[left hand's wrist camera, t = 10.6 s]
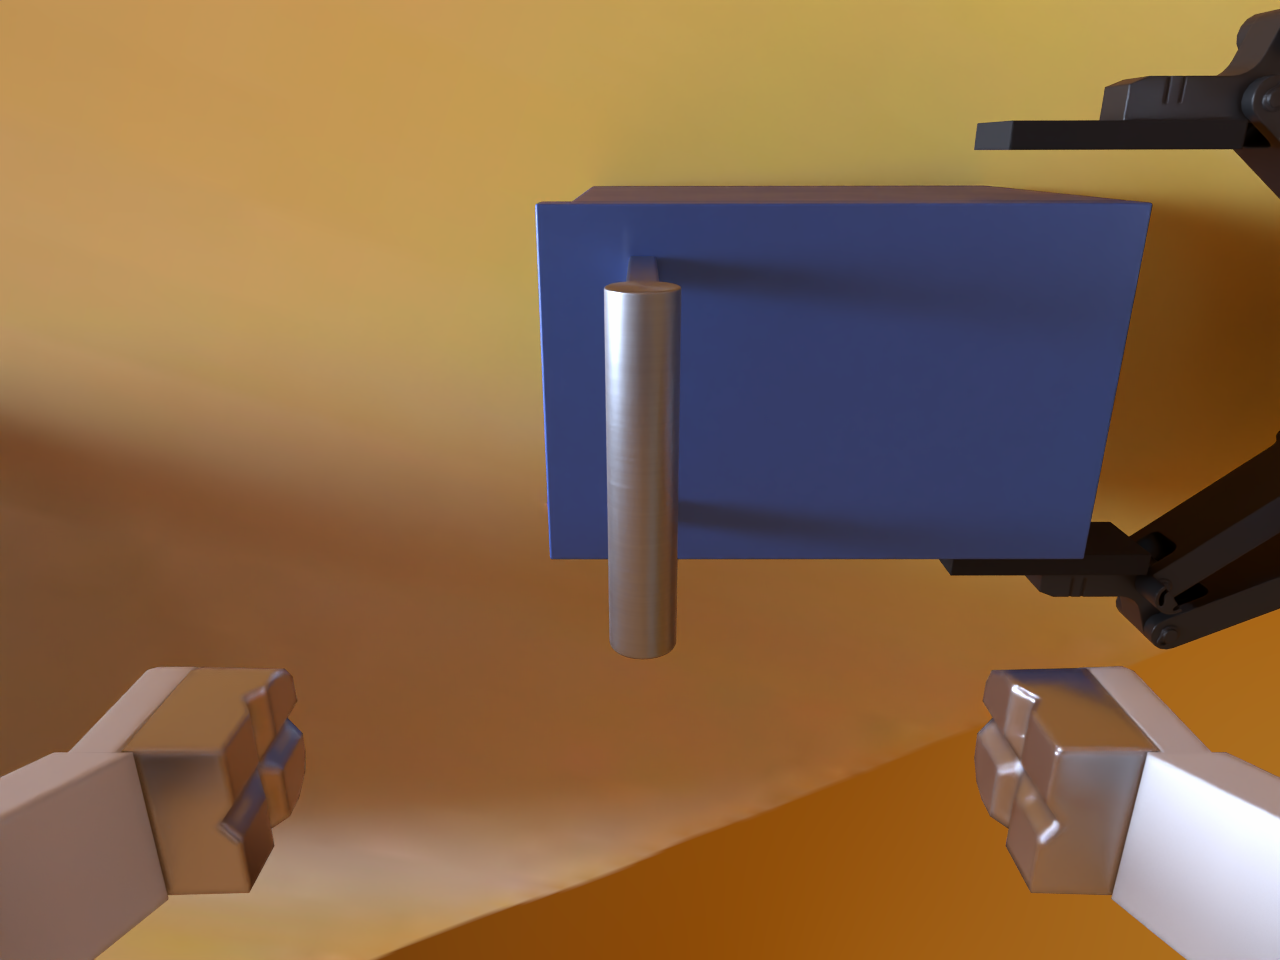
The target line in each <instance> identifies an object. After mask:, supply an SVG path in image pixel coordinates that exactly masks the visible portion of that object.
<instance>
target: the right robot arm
mask: <svg viewBox="0 0 1280 960" xmlns="http://www.w3.org/2000/svg"><path fill="white" fill-rule="evenodd" d="M1237 47H1238V51H1237V53H1236V55H1235V57H1234V58H1233V60H1232V62H1231V63H1230V65H1229V66H1228V67H1227V68H1226V69H1225V70H1224V71H1223V72H1222V73H1220V74H1219V75H1217V76H1146V77H1139V78H1132V79H1126V80H1122V81H1119V82H1117V83H1114V84H1112V85H1110V86H1107V87H1105V91H1104V97H1103V103H1102V109H1101V115H1100V120H1086V121H1003V122H990V123H978V124H977V132H976V140H975V148H974V150H1109V149H1233V150H1234V151H1235V152H1236V153H1237V154H1238V155H1239V156H1240V157H1241V158H1242V159H1243V160H1244V162H1245V163H1246V164H1247V165H1248V166H1249V167H1250V168H1251V169H1252V170H1253V171H1254V172H1255V173H1256V174H1257V175H1258V176H1259V177H1260V178H1261V180H1262V181H1263V182H1264V183H1265V184H1266V185H1267V186H1268V187H1269V188H1270V189H1271V190H1272V191H1273V192H1274V193H1275V194H1276V195H1277V196H1278V197H1279V199H1280V9H1278V10H1273V11H1269V12H1265V13H1260V14H1256V15H1254V16H1252V17H1250V18H1249V19H1247V20H1246V21H1245V22H1244V24H1243V25H1242V26H1241V28H1240V30H1239V32H1238V34H1237ZM1276 440H1277V441H1276V443H1275V444H1274V445H1272V446H1271V447H1269V448H1268V449H1266V450H1265V451H1263V452H1262V453H1260V454H1258V455H1257V456H1255V457H1254V458H1252V459H1251V460H1249V461H1247V462H1246V463H1244V464H1243V465H1241V466H1240V467H1238V468H1236V469H1235V470H1233V471H1232V472H1230V473H1229V474H1227V475H1225V476H1224V477H1222V478H1221V479H1219V480H1218V481H1216V482H1214V483H1213V484H1211V485H1210V486H1208V487H1207V488H1205V489H1203V490H1202V491H1200V492H1199V493H1197V494H1196V495H1194V496H1192V497H1191V498H1189V499H1188V500H1186V501H1185V502H1183V503H1181V504H1180V505H1178V506H1177V507H1175V508H1174V509H1172V510H1170V511H1169V512H1167V513H1166V514H1164V515H1163V516H1161V517H1159V518H1158V519H1156V520H1155V521H1153V522H1152V523H1150V524H1148V525H1147V526H1145V527H1144V528H1142V529H1141V530H1139V531H1137V532H1136V533H1134V534H1133V535H1131V536H1130V537H1129V536H1127V535H1126V534H1125V533H1124V532H1122V531H1121V530H1120V529H1118V528H1117V527H1116V526H1115V525H1113V524H1112V523H1111V522H1091V523H1090V528H1089V533H1088V538H1087V543H1086V548H1085V554H1084V558H1083V559H939V560H940V561H941V563H942V564H943V565H944V567H945V568H946V570H947V571H948V572H949V574H950V575H1025V576H1026V577H1027V578H1028V579H1029V581H1030V582H1031V583H1032V584H1033V585H1034V586H1035V587H1036V588H1037V589H1038V590H1039V591H1040V592H1042V593H1045V594H1047V595H1050V596H1053V597H1069V596H1071V597H1080V596H1083V597H1109V596H1118V597H1117V600H1116V607H1117V609H1118V610H1119V612H1120V613H1121V614H1123V615H1124V616H1125V617H1126V618H1127V619H1128V620H1129V621H1130V622H1131V623H1132V624H1133V625H1134V626H1135V627H1136V628H1137V629H1138V630H1139V631H1140V632H1141V633H1142V634H1143V635H1144V636H1145V637H1146V638H1147V639H1148V640H1149V641H1151V642H1152V643H1153V644H1154V645H1155V646H1156V647H1158V648H1160V649H1170V648H1174V647H1177V646H1180V645H1182V644H1185V643H1188V642H1191V641H1193V640H1196V639H1199V638H1201V637H1204V636H1207V635H1209V634H1212V633H1215V632H1217V631H1220V630H1223V629H1226V628H1228V627H1231V626H1234V625H1236V624H1239V623H1242V622H1244V621H1247V620H1250V619H1253V618H1255V617H1258V616H1261V615H1263V614H1266V613H1269V612H1271V611H1274V610H1277V609H1279V608H1280V431H1279V432H1278V433H1277V435H1276Z"/></svg>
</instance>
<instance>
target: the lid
mask: <svg viewBox="0 0 1280 960" xmlns="http://www.w3.org/2000/svg"><path fill="white" fill-rule="evenodd" d="M1151 210H1152V203H1149V202H1139V201H600V202H540V203H538V204H536V206H535V212H536V235H537V259H538V283H539V307H540V331H541V355H542V379H543V403H544V427H545V450H546V474H547V498H548V522H549V546H550V558H551V559H608V571H609V633H610V645H611V646H612V648H613V649H614V650H615V651H616V652H617V653H619V654H621V655H623V656H626V657H629V658H634V659H651V658H657V657H660V656H663V655H665V654H667V653H669V652H670V651H671V650H672V649H673V648H674V646H675V644H676V618H677V559H1083V558H1084V554H1085V548H1086V543H1087V538H1088V533H1089V528H1090V523H1091V518H1092V513H1093V507H1094V502H1095V497H1096V492H1097V487H1098V482H1099V477H1100V472H1101V466H1102V461H1103V456H1104V451H1105V446H1106V441H1107V436H1108V431H1109V425H1110V420H1111V415H1112V410H1113V405H1114V400H1115V395H1116V390H1117V384H1118V379H1119V374H1120V369H1121V364H1122V359H1123V354H1124V348H1125V343H1126V338H1127V333H1128V328H1129V323H1130V318H1131V313H1132V307H1133V302H1134V297H1135V292H1136V287H1137V282H1138V277H1139V272H1140V266H1141V261H1142V256H1143V251H1144V246H1145V241H1146V236H1147V231H1148V225H1149V220H1150V215H1151Z"/></svg>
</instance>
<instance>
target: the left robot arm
mask: <svg viewBox="0 0 1280 960" xmlns="http://www.w3.org/2000/svg"><path fill="white" fill-rule="evenodd" d="M296 702H297V697H296V692H295V687H294V682H293V677H292V676H291V675H290V674H289V673H288V672H287V671H286V670H285V669H272V668H222V667H201V668H198V667H157V668H153V669H149V670H147V671H146V672H145V673H144V674H143V675H142V676H141V677H140V678H139V679H138V680H137V681H136V682H135V683H134V684H133V685H132V687H131V688H130V689H129V690H128V691H127V692H126V693H125V694H124V695H123V696H122V697H121V698H120V699H119V700H118V701H117V702H116V703H115V704H114V705H113V706H112V707H111V708H110V709H109V710H108V712H107V713H106V714H105V715H104V716H103V717H102V718H101V719H100V720H99V721H98V722H97V723H96V724H95V725H94V726H93V727H92V728H91V729H90V730H89V731H88V732H87V733H86V734H85V735H84V737H83V738H82V739H81V740H80V741H79V742H78V743H77V744H76V745H75V746H74V747H73V748H72V749H71V750H70V751H69V752H54V753H52V754H49V755H47V756H45V757H43V758H41V759H39V760H37V761H34V762H32V763H30V764H28V765H26V766H24V767H22V768H19V769H17V770H15V771H13V772H11V773H9V774H7V775H4V776H2V777H0V960H94V959H95V958H96V957H97V956H99V955H100V954H101V953H102V952H104V951H105V950H106V949H107V948H109V947H110V946H111V945H112V944H114V943H115V942H116V941H117V940H119V939H120V938H121V937H122V936H123V935H125V934H126V933H127V932H128V931H130V930H131V929H132V928H133V927H135V926H136V925H137V924H138V923H140V922H141V921H142V920H143V919H145V918H146V917H147V916H148V915H149V914H151V913H152V912H153V911H154V910H156V909H157V908H158V907H159V906H161V905H162V904H163V903H164V902H166V901H167V900H168V895H187V894H222V893H249V892H250V890H251V888H252V887H253V885H254V883H255V881H256V879H257V877H258V875H259V873H260V872H261V870H262V868H263V866H264V864H265V862H266V860H267V858H268V857H269V855H270V853H271V851H272V849H273V847H274V841H273V836H272V830H271V829H272V828H273V827H275V826H276V825H278V824H279V823H281V822H282V821H283V820H285V819H286V818H288V817H289V816H290V815H291V813H292V811H293V809H294V807H295V805H296V803H297V801H298V799H299V796H300V792H301V787H302V783H303V779H304V774H305V746H304V740H303V733H302V732H301V731H300V730H299V729H298V728H297V727H296V726H295V725H294V724H293V723H292V722H291V721H290V720H289V719H288V718H287V717H288V715H289V714H290V712H291V711H292V709H293V707H294V706H295V704H296ZM983 702H984V704H985V706H986V707H987V709H988V711H989V712H990V714H991V715H992V717H993V718H992V719H991V720H990V721H989V722H988V723H987V724H986V725H985V726H984V727H983V728H982V729H981V730H980V731H979V732H978V733H977V741H976V749H975V757H974V759H975V770H976V781H977V785H978V788H979V792H980V795H981V798H982V801H983V803H984V805H985V807H986V809H987V811H988V813H989V815H990V816H991V817H992V818H994V819H995V820H997V821H998V822H1000V823H1001V824H1002V825H1004V826H1005V827H1007V828H1008V829H1009V830H1008V836H1007V842H1006V847H1007V849H1008V851H1009V853H1010V855H1011V857H1012V858H1013V860H1014V862H1015V864H1016V866H1017V868H1018V870H1019V871H1020V873H1021V875H1022V877H1023V879H1024V881H1025V883H1026V884H1027V886H1028V888H1029V890H1030V892H1031V893H1056V894H1093V895H1112V900H1114V901H1115V902H1116V903H1117V904H1119V905H1120V906H1121V907H1122V908H1124V909H1125V910H1126V911H1127V912H1128V913H1130V914H1131V915H1132V916H1133V917H1135V918H1136V919H1137V920H1138V921H1140V922H1141V923H1142V924H1143V925H1144V926H1146V927H1147V928H1148V929H1149V930H1151V931H1152V932H1153V933H1154V934H1156V935H1157V936H1158V937H1159V938H1161V939H1162V940H1163V941H1164V942H1166V943H1167V944H1168V945H1169V946H1170V947H1172V948H1173V949H1174V950H1175V951H1177V952H1178V953H1179V954H1180V955H1182V956H1183V957H1184V958H1185V959H1187V960H1280V777H1277V776H1275V775H1273V774H1271V773H1269V772H1267V771H1265V770H1263V769H1261V768H1258V767H1256V766H1254V765H1252V764H1250V763H1248V762H1246V761H1243V760H1241V759H1239V758H1237V757H1235V756H1233V755H1231V754H1229V753H1226V752H1211V751H1210V750H1209V749H1208V748H1207V747H1206V746H1205V745H1204V744H1203V743H1202V742H1201V741H1200V740H1199V739H1198V737H1197V736H1196V735H1195V734H1194V733H1193V732H1192V731H1191V730H1190V729H1189V728H1188V727H1187V726H1186V725H1185V724H1184V723H1183V722H1182V721H1181V720H1180V719H1179V718H1178V717H1177V716H1176V715H1175V713H1174V712H1173V711H1172V710H1171V709H1170V708H1169V707H1168V706H1167V705H1166V704H1165V703H1164V702H1163V701H1162V700H1161V699H1160V698H1159V697H1158V696H1157V695H1156V694H1155V693H1154V692H1153V691H1152V690H1151V688H1150V687H1149V686H1148V685H1147V684H1146V683H1145V682H1144V681H1143V680H1142V679H1141V678H1140V677H1139V676H1138V675H1137V674H1136V673H1135V672H1134V671H1133V670H1130V669H1128V668H1125V667H1123V666H1113V667H1086V668H1064V669H1022V670H992V671H991V673H990V675H989V677H988V679H987V681H986V685H985V691H984V696H983Z"/></svg>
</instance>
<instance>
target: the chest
mask: <svg viewBox="0 0 1280 960" xmlns="http://www.w3.org/2000/svg"><path fill="white" fill-rule="evenodd" d="M600 201H1126V200H1119V199H1109V198H1099V197H1089V196H1080V195H1070V194H1060V193H1050V192H1041V191H1031V190H1021V189H1011V188H1002V187H992V186H594V187H592V188H590V189H589V190H587V191H586V192H585V193H583V194H582V195H580V196H579V197H578V198H576V199H575V200H574V201H572V202H600Z"/></svg>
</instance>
